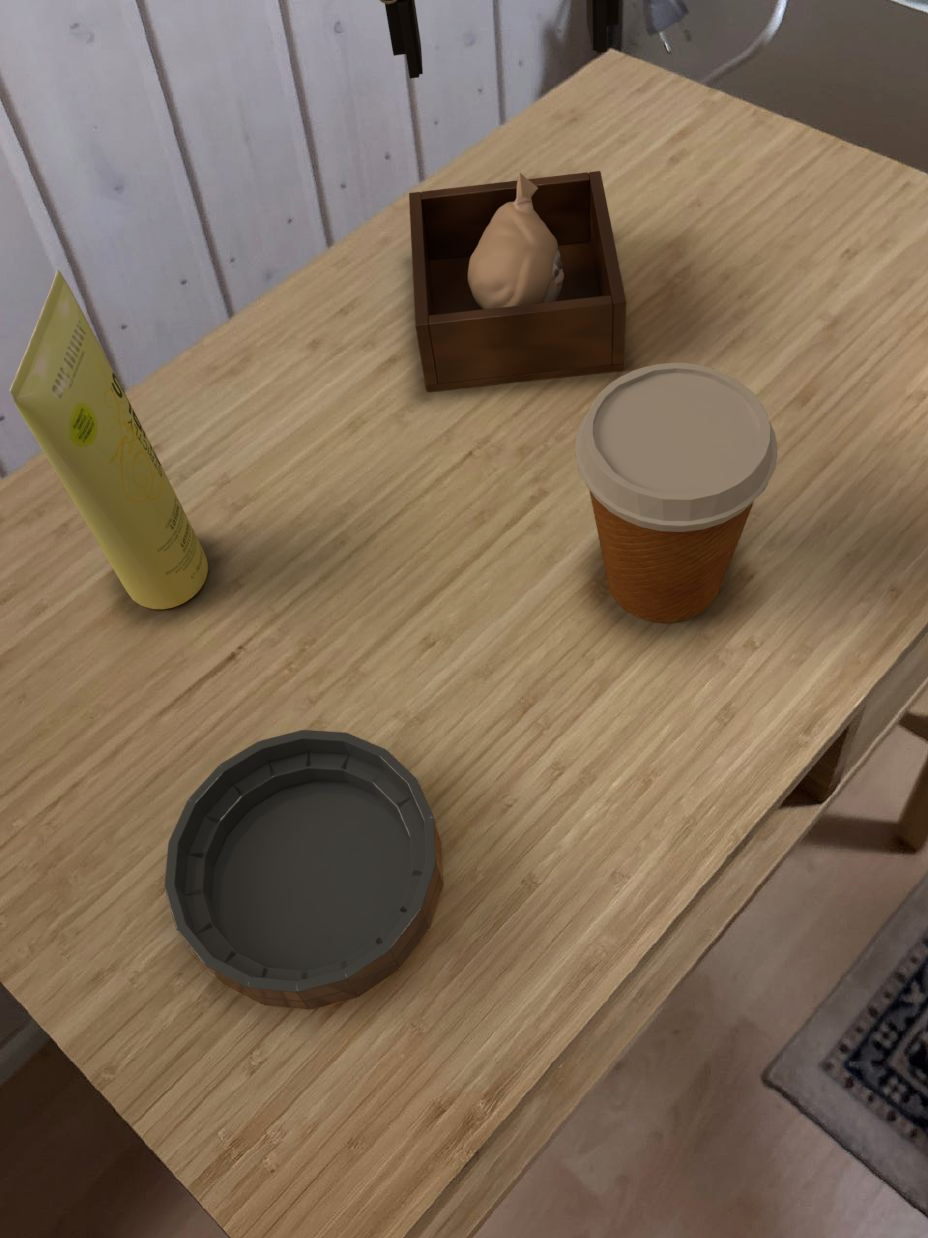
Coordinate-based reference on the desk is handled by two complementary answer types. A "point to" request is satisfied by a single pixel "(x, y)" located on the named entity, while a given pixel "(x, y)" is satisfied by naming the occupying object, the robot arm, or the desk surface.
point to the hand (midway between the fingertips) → (505, 51)
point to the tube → (105, 456)
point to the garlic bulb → (516, 257)
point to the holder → (526, 334)
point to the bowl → (305, 869)
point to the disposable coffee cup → (673, 482)
